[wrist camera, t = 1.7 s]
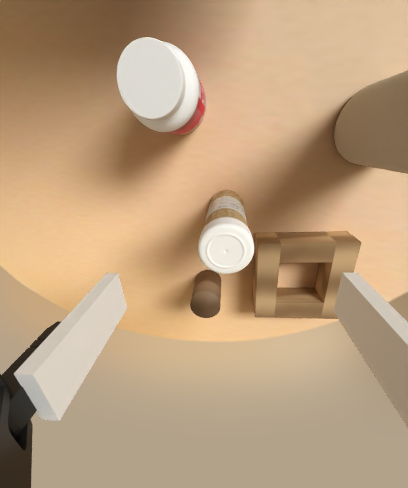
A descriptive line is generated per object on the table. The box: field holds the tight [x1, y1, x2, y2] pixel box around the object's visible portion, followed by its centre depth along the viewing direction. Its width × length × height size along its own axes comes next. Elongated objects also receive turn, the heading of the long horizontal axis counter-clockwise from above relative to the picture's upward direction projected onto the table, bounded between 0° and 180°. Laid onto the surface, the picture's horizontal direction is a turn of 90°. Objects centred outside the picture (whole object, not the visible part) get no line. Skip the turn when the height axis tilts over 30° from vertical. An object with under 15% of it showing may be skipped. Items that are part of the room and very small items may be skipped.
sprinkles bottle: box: [198, 190, 254, 274], centre depth 23 cm, size 5×5×14 cm
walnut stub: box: [190, 270, 221, 318], centre depth 32 cm, size 4×4×6 cm
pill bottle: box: [116, 37, 206, 135], centre depth 20 cm, size 6×6×11 cm
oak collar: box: [253, 231, 361, 319], centre depth 31 cm, size 12×12×4 cm
